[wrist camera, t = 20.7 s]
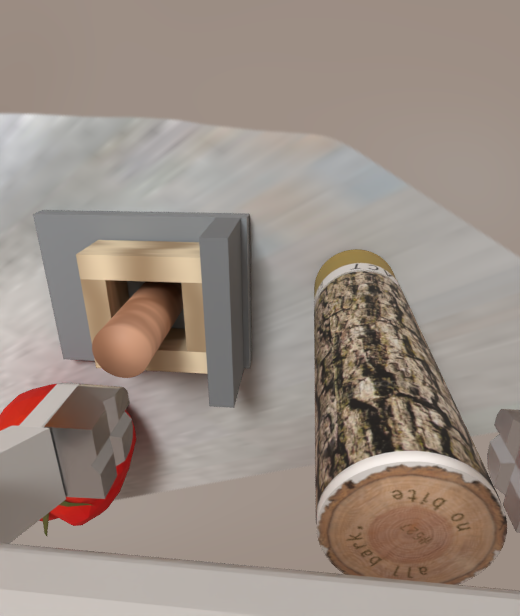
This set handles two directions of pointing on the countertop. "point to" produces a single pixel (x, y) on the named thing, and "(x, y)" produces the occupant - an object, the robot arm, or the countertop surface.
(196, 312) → the square wooden frame
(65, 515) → the tomato
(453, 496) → the wooden log
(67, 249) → the slate track
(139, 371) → the dowel
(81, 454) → the robot arm
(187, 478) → the countertop surface
